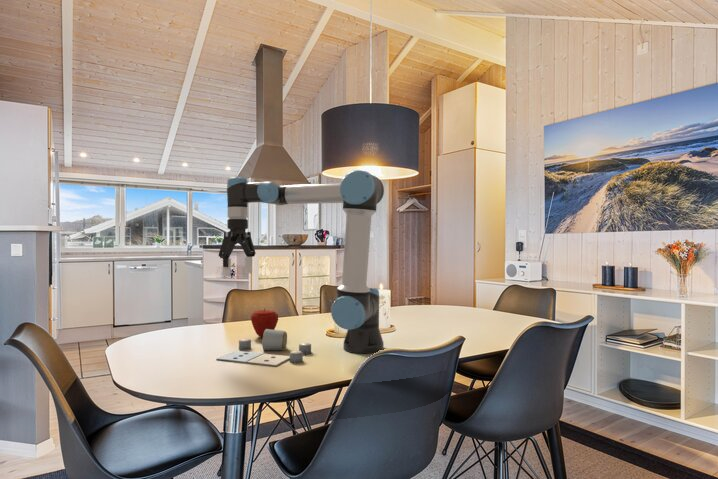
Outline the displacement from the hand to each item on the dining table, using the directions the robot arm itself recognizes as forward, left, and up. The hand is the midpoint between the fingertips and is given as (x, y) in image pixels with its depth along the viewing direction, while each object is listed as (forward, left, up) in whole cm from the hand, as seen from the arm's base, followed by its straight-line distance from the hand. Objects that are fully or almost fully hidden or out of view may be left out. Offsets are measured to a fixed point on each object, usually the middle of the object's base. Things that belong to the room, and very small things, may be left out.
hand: (238, 274), depth 168 cm
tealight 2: (-29, +10, -28) cm, 41 cm away
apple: (0, -18, -28) cm, 33 cm away
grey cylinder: (-14, -3, -28) cm, 31 cm away
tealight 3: (-27, -1, -28) cm, 39 cm away
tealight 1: (-3, +1, -28) cm, 28 cm away
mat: (-15, +12, -28) cm, 33 cm away
